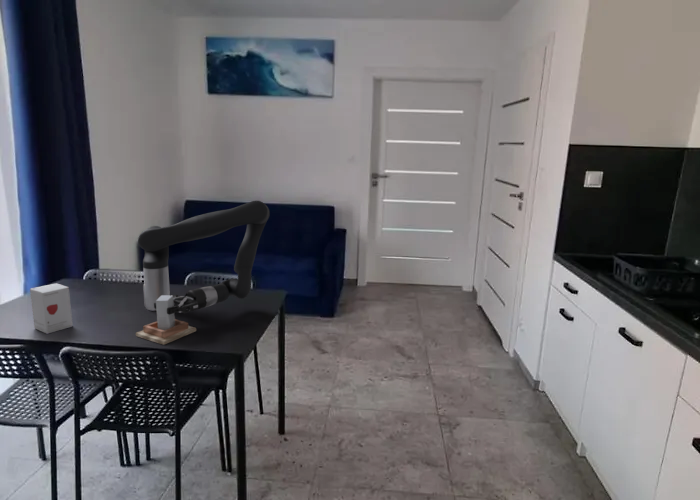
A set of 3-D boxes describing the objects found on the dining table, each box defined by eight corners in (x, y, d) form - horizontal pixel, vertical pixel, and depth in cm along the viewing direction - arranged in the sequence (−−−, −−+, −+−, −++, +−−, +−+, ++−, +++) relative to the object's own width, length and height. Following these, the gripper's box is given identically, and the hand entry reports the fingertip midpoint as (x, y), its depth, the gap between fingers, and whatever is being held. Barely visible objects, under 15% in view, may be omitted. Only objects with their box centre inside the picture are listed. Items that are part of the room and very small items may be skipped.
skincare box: (163, 326, 162) (161, 295, 160) (175, 326, 162) (173, 295, 160) (157, 333, 156) (155, 300, 154) (170, 333, 157) (168, 300, 154)
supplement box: (46, 334, 156) (41, 293, 153) (33, 328, 161) (28, 288, 158) (73, 326, 164) (69, 286, 161) (61, 321, 168) (56, 282, 165)
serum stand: (135, 336, 157) (135, 326, 156) (169, 323, 169) (168, 314, 168) (163, 344, 150) (163, 335, 149) (196, 331, 162) (195, 322, 162)
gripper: (190, 284, 172) (149, 294, 160) (212, 292, 164) (171, 302, 151) (191, 303, 174) (150, 314, 161) (213, 311, 165) (172, 324, 153)
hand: (160, 308), depth 156 cm, fingers open, 8 cm apart
